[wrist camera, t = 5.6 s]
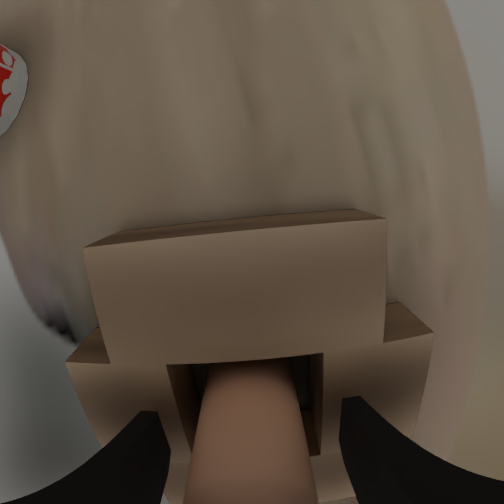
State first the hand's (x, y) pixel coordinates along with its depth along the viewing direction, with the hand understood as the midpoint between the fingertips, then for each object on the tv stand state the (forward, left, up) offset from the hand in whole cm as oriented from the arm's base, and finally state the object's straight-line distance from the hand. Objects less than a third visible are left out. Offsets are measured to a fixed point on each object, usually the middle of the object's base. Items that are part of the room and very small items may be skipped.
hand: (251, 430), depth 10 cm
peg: (0, 0, -4) cm, 4 cm away
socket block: (0, 0, -4) cm, 4 cm away
